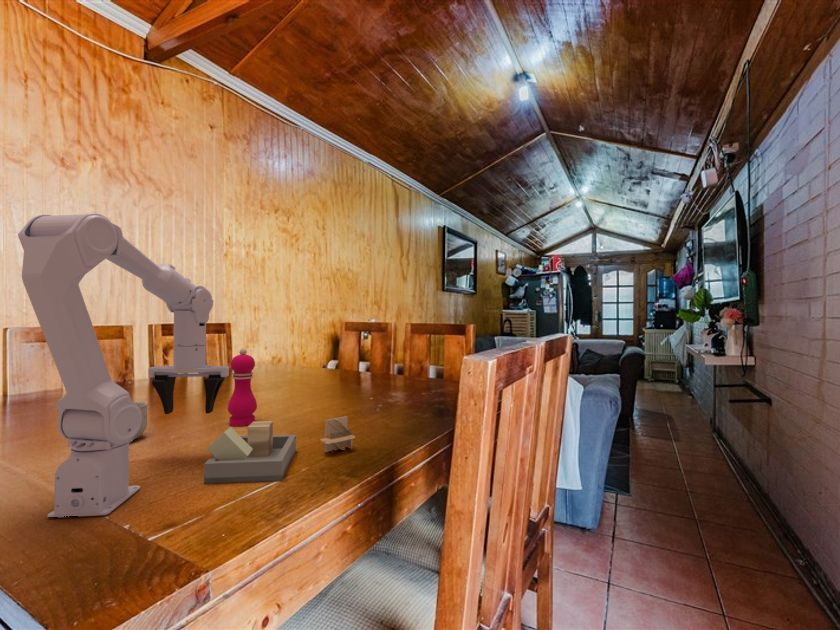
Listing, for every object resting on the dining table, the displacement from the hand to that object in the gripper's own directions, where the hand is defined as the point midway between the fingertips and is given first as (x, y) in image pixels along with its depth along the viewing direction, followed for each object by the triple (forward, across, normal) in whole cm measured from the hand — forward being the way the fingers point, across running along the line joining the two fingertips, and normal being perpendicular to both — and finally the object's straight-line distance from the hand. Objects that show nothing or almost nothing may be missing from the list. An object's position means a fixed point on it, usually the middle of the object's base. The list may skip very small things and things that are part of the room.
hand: (189, 412), depth 84 cm
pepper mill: (+10, -3, -27) cm, 29 cm away
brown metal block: (+8, -14, +1) cm, 16 cm away
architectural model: (+10, -30, -2) cm, 31 cm away
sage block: (+7, -12, +8) cm, 17 cm away
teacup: (+10, +20, -16) cm, 27 cm away
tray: (+9, -14, +5) cm, 18 cm away
